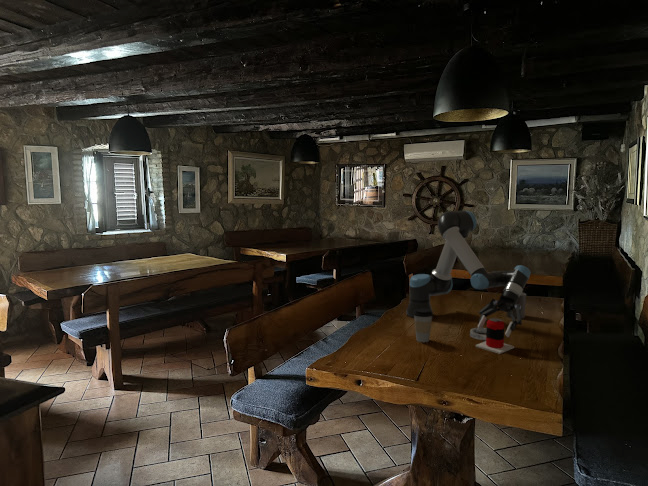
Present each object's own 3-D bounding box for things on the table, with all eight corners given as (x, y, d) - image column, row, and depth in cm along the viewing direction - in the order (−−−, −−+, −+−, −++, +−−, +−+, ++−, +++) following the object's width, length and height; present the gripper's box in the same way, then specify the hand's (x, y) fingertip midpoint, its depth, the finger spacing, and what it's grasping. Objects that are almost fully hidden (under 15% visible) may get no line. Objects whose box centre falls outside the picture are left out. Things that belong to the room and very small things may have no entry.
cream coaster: (475, 346, 199) (475, 345, 199) (489, 341, 206) (490, 339, 206) (499, 354, 189) (499, 352, 189) (514, 347, 197) (514, 346, 197)
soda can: (492, 349, 193) (493, 322, 192) (482, 343, 200) (483, 318, 199) (507, 347, 195) (508, 321, 194) (496, 342, 202) (497, 317, 201)
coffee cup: (433, 344, 202) (433, 313, 201) (412, 343, 204) (412, 312, 203) (432, 337, 212) (432, 308, 210) (412, 336, 213) (412, 307, 212)
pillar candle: (506, 317, 245) (507, 291, 243) (506, 313, 254) (507, 288, 252) (525, 319, 241) (526, 293, 240) (524, 315, 250) (525, 289, 249)
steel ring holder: (465, 335, 214) (465, 331, 214) (479, 330, 222) (479, 326, 222) (487, 342, 205) (487, 337, 204) (501, 336, 212) (501, 332, 212)
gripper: (540, 304, 195) (522, 343, 188) (489, 294, 215) (471, 329, 207) (534, 294, 191) (516, 334, 184) (484, 285, 211) (465, 321, 203)
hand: (492, 331), depth 195 cm, fingers open, 13 cm apart
